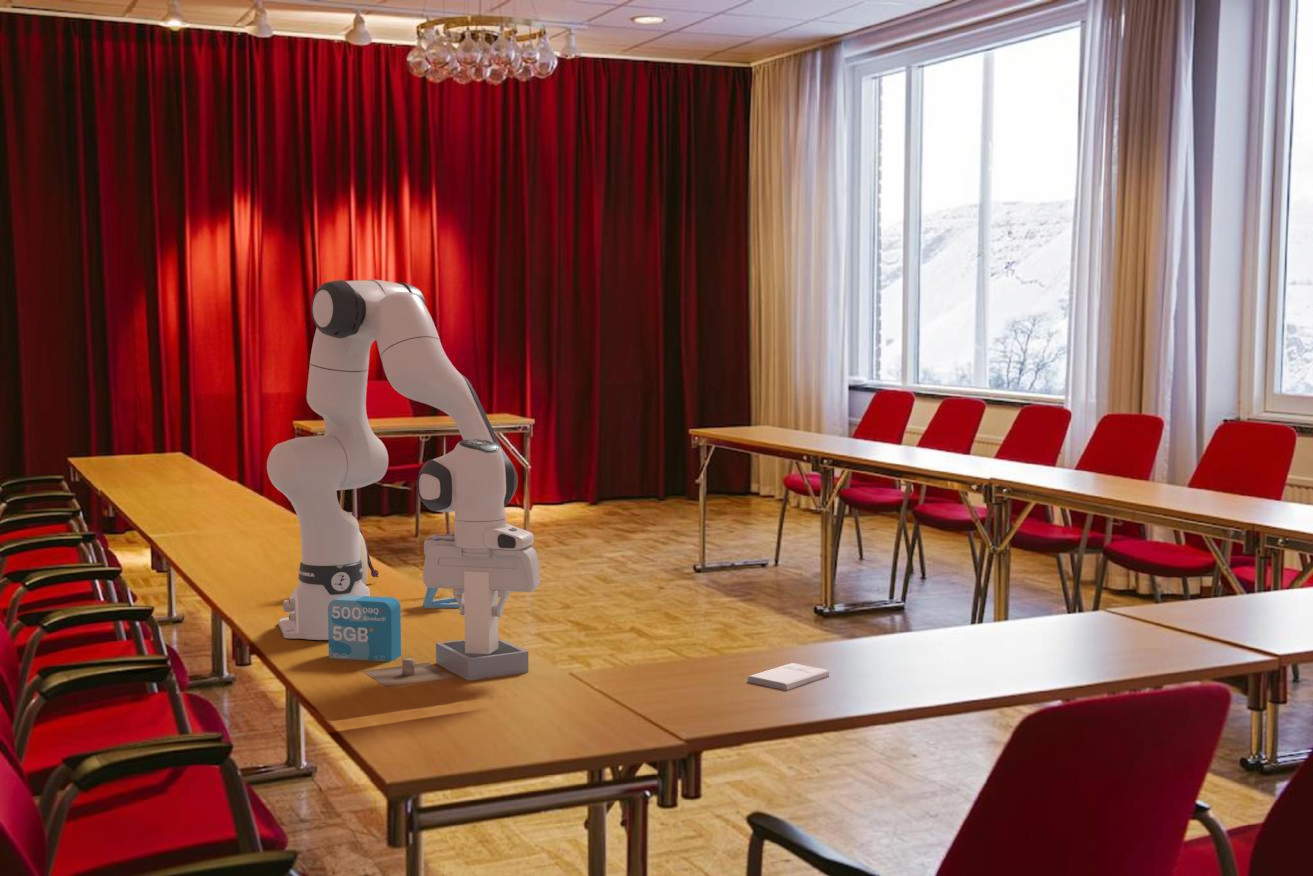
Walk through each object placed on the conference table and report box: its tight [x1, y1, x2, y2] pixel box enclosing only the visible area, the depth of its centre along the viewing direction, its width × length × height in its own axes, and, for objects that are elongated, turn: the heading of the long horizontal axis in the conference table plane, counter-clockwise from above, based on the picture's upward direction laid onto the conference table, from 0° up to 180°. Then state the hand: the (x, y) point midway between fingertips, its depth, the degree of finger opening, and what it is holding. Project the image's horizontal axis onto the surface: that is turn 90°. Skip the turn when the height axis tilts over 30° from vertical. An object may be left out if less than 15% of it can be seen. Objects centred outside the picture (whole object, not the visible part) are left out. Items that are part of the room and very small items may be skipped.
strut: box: [463, 571, 499, 654], centre depth 232 cm, size 4×4×14 cm
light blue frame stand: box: [422, 586, 460, 609], centre depth 292 cm, size 8×8×12 cm
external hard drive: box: [747, 662, 830, 691], centre depth 231 cm, size 2×8×12 cm
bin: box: [435, 637, 529, 682], centre depth 232 cm, size 14×11×5 cm
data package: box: [327, 595, 402, 662], centre depth 240 cm, size 12×4×12 cm, turn 77°
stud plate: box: [362, 657, 456, 688], centre depth 228 cm, size 12×12×4 cm
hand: (481, 615), depth 232 cm, fingers closed on strut, 4 cm apart
